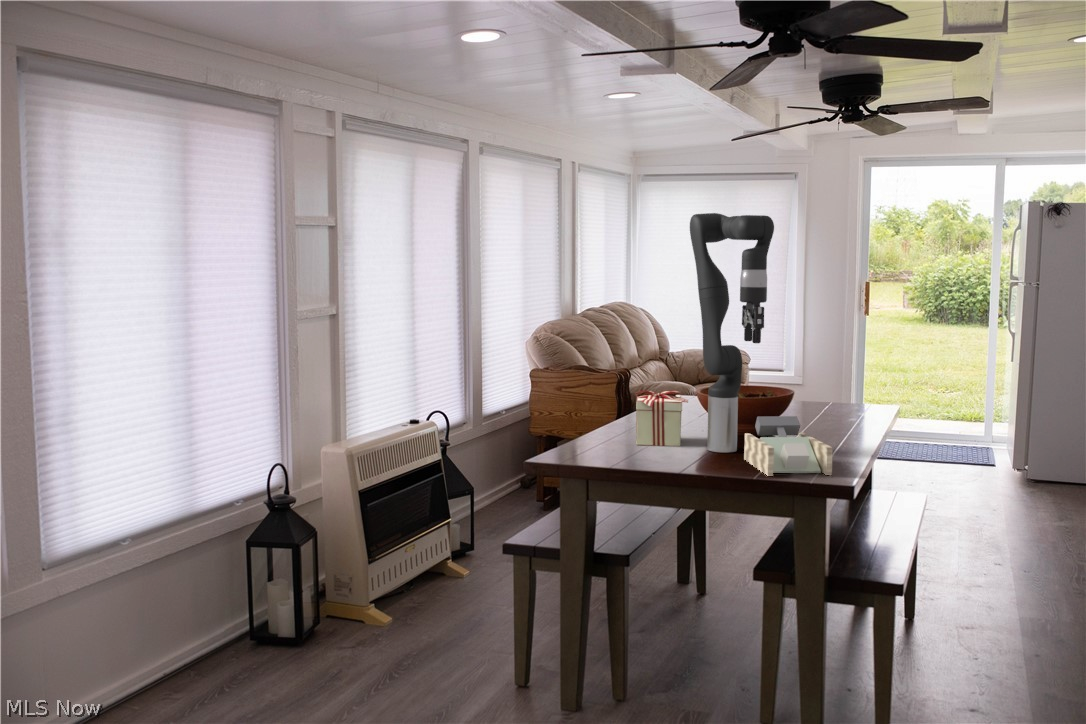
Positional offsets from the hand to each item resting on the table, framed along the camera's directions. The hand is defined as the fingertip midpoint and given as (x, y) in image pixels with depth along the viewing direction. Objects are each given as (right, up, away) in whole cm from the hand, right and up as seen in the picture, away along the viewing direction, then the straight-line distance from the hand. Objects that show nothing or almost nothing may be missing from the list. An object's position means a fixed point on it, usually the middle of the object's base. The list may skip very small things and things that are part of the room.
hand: (752, 342), depth 272 cm
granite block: (+10, -34, -5) cm, 36 cm away
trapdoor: (+10, -32, +3) cm, 34 cm away
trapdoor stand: (+10, -36, +1) cm, 38 cm away
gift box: (-21, -33, +40) cm, 56 cm away
